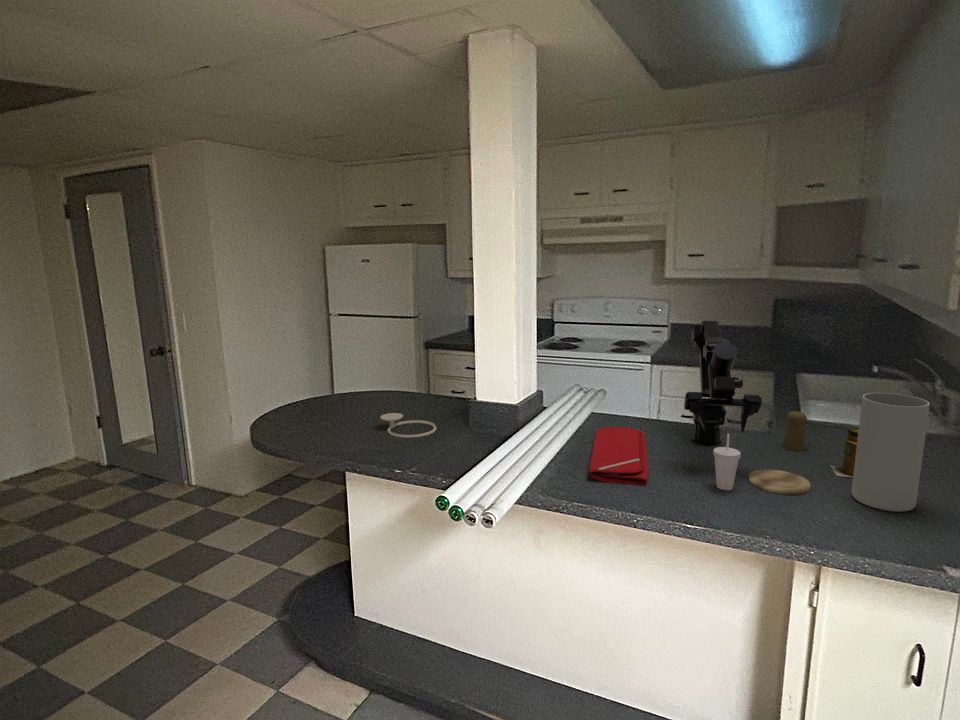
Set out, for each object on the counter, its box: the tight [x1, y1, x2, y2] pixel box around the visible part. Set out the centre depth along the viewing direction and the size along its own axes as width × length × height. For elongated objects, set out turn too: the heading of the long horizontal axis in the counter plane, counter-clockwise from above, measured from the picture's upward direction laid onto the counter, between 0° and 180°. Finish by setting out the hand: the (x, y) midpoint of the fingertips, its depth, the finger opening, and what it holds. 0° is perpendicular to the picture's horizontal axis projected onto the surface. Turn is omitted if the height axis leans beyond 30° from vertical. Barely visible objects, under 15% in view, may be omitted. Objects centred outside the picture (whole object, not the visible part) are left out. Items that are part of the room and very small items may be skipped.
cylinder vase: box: [851, 392, 931, 513], centre depth 132 cm, size 12×12×25 cm
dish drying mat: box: [588, 426, 649, 487], centre depth 167 cm, size 16×41×4 cm, turn 165°
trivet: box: [748, 469, 811, 496], centre depth 145 cm, size 14×14×1 cm
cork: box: [782, 410, 808, 452], centre depth 170 cm, size 6×6×11 cm
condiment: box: [829, 427, 859, 478], centre depth 150 cm, size 7×8×12 cm
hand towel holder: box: [379, 412, 437, 439], centre depth 195 cm, size 17×4×20 cm
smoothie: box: [712, 433, 742, 491], centre depth 142 cm, size 6×6×14 cm
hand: (723, 430), depth 148 cm, fingers open, 9 cm apart
